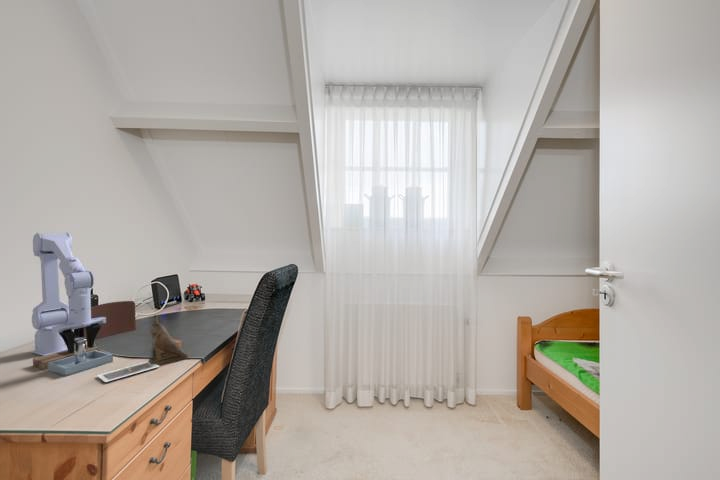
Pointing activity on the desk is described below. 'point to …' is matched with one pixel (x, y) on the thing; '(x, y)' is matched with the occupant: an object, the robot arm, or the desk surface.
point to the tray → (69, 367)
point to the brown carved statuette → (165, 346)
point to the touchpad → (126, 371)
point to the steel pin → (80, 349)
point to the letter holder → (112, 319)
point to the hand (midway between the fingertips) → (81, 349)
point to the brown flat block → (56, 357)
